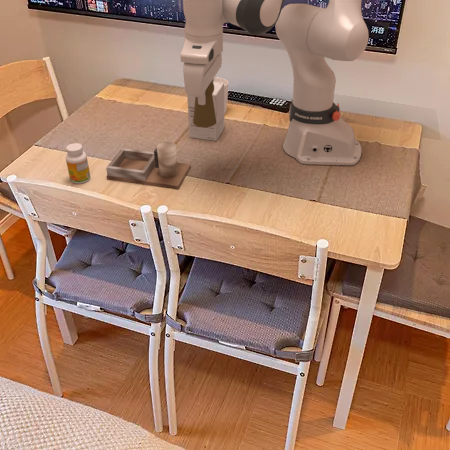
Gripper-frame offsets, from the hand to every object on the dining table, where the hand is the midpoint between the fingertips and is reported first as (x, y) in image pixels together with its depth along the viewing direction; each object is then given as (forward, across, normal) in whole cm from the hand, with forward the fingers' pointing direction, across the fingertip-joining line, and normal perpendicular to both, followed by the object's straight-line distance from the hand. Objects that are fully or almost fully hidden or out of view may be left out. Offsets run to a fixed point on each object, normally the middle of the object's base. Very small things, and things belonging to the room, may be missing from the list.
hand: (205, 98), depth 132 cm
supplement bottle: (+21, +12, -32) cm, 40 cm away
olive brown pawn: (+7, 0, 0) cm, 7 cm away
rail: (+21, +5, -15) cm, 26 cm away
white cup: (+21, -36, -7) cm, 42 cm away
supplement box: (+21, -21, -6) cm, 30 cm away
